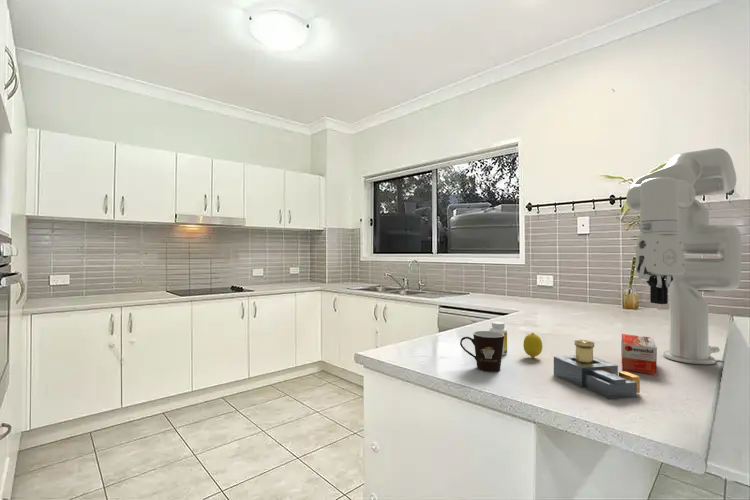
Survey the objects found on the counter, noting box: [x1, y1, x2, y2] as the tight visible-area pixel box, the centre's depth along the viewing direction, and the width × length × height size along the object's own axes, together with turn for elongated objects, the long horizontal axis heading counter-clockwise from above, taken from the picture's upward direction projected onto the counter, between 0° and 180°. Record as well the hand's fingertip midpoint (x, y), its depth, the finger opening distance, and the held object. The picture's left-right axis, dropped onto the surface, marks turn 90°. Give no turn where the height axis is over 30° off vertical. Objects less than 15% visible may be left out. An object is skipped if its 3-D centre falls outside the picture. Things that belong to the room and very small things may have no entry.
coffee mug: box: [459, 330, 504, 373], centre depth 111 cm, size 12×9×10 cm
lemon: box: [523, 332, 543, 359], centre depth 121 cm, size 6×6×8 cm
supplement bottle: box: [489, 321, 508, 356], centre depth 126 cm, size 6×6×10 cm
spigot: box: [573, 339, 595, 364], centre depth 101 cm, size 5×5×10 cm
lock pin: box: [602, 371, 641, 394], centre depth 91 cm, size 8×4×4 cm, turn 102°
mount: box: [553, 354, 638, 401], centre depth 97 cm, size 10×18×5 cm, turn 12°
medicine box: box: [620, 333, 658, 376], centre depth 112 cm, size 15×8×8 cm, turn 148°
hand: (658, 303), depth 94 cm, fingers closed
